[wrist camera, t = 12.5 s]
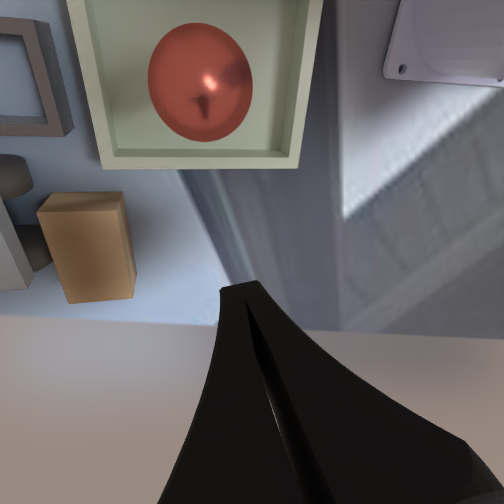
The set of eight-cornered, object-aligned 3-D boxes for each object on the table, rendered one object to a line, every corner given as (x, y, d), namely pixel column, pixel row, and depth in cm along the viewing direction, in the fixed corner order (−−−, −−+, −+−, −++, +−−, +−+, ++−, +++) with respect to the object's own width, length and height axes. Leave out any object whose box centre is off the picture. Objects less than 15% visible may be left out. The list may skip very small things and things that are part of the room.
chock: (123, 189, 17) (116, 210, 15) (137, 271, 21) (132, 298, 18) (54, 190, 16) (36, 212, 14) (80, 275, 20) (68, 304, 17)
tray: (307, -16, 14) (327, -26, 12) (285, 157, 18) (297, 168, 16) (69, -50, 12) (51, -69, 10) (110, 156, 16) (102, 169, 14)
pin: (220, 38, 14) (256, 28, 8) (220, 109, 15) (249, 142, 10) (153, 32, 13) (139, 16, 7) (160, 107, 15) (154, 141, 9)
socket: (48, 23, 12) (32, 19, 11) (74, 128, 15) (64, 136, 13) (-72, 12, 12) (-107, 6, 10) (-24, 126, 14) (-47, 134, 12)
